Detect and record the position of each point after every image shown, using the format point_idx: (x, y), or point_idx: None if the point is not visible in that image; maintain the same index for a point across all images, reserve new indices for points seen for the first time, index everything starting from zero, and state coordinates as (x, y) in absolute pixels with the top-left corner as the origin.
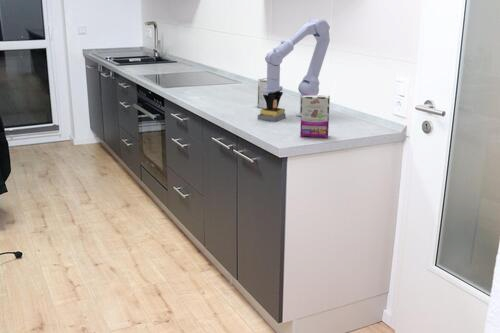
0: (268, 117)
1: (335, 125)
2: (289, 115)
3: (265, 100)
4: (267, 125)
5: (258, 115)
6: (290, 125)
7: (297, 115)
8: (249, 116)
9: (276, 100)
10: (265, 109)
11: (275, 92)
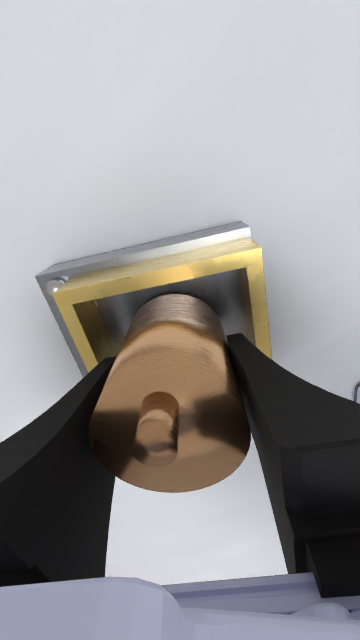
0: (82, 366)
1: (266, 564)
2: (354, 338)
3: (27, 427)
4: (8, 414)
5: (39, 283)
6: (118, 478)
7: (357, 395)
8: (68, 95)
9: (183, 481)
10: (145, 286)
11: (295, 556)
